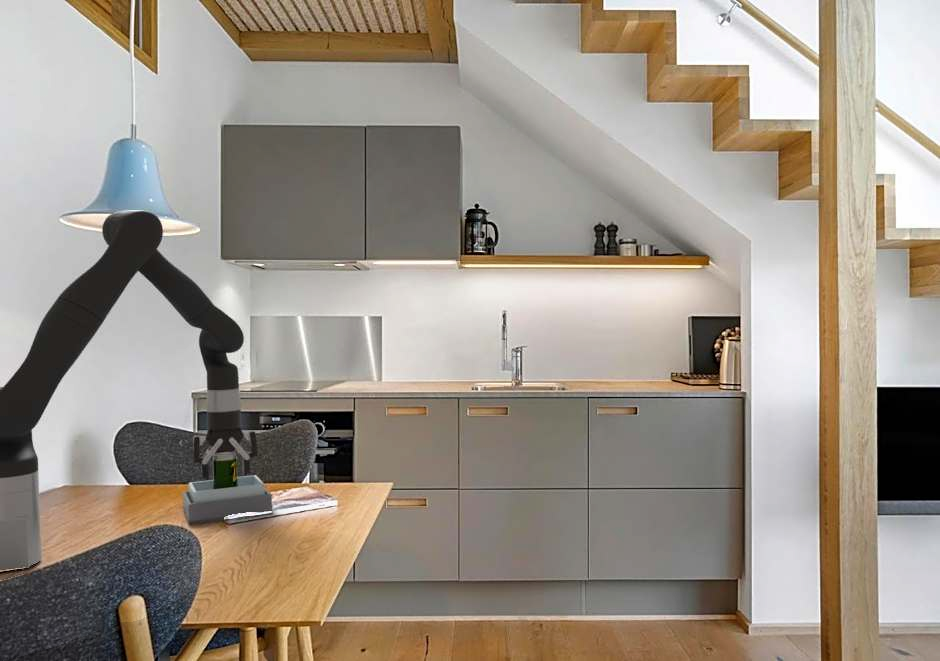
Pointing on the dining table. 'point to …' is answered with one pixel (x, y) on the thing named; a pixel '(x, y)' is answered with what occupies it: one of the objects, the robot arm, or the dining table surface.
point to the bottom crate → (224, 507)
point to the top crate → (225, 490)
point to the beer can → (225, 470)
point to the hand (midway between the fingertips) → (226, 477)
